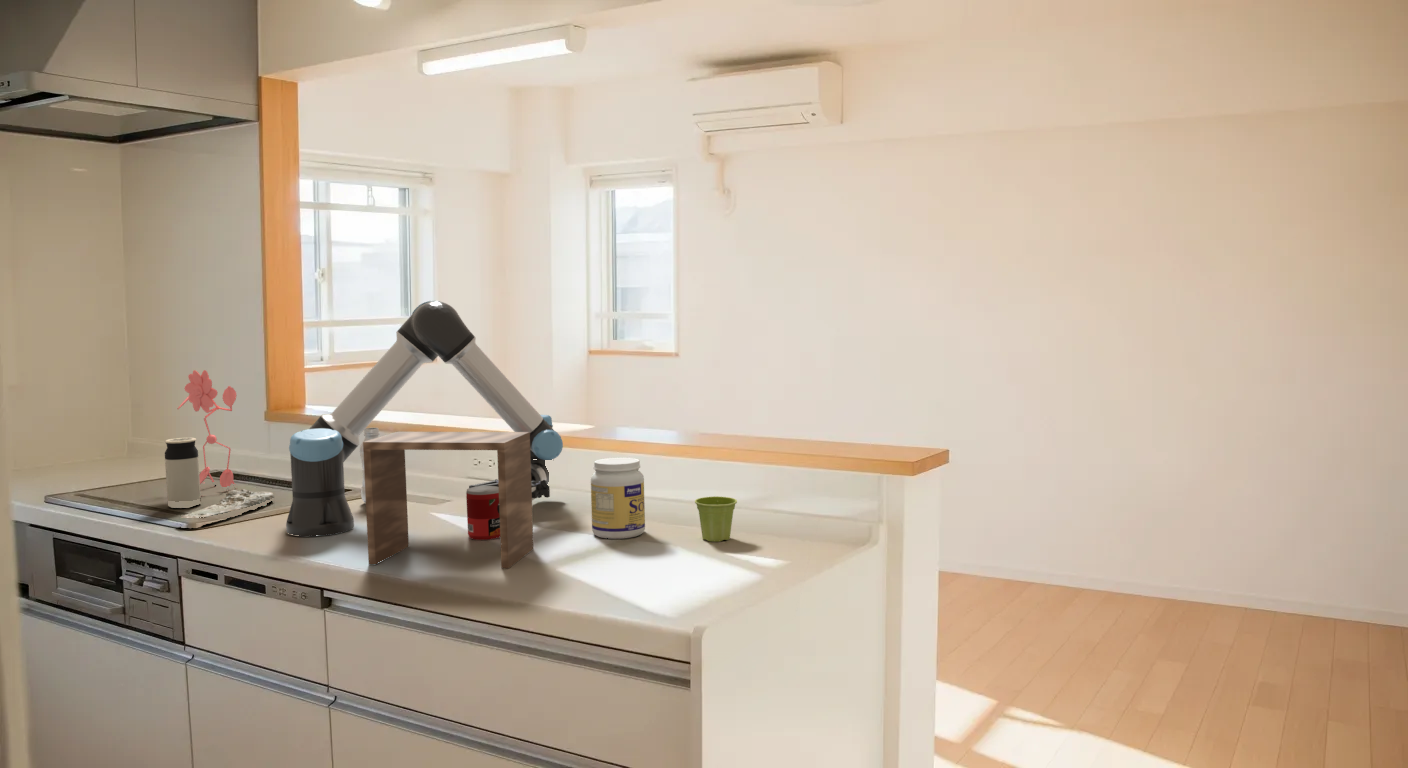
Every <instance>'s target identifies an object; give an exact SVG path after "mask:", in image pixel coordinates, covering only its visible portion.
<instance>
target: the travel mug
mask: <svg viewBox="0 0 1408 768" xmlns="http://www.w3.org/2000/svg"><path fill="white" fill-rule="evenodd" d="M196 441H197V438H195V437H177V438H176V437H175V438H169V439H166V440H165V441H164V442H165V444H166V447H167V448H166V450H165V451H164V463H165V464H164V466H165V480H166V496H167V502H168V501H175V502H179V501H193V500H197V499H200V498H201V496H202V495H201V494H202V493H201V484H200V477H199V474H200V463H199V450H198V448H197V446H195V445H196ZM201 499H202V498H201Z"/></svg>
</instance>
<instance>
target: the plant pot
mask: <svg viewBox="0 0 1408 768" xmlns="http://www.w3.org/2000/svg"><path fill="white" fill-rule="evenodd" d="M694 503H695V504H696V509H697V511H698V515H699V516H698V517H699V522H700V530H701V537H702V539H703V540H706V541H707V542H711V543H712V542H715V543H716V542H717V543H718V542H723V541H728V540H730V539H731V535H732V534H731V532H732V525H733V515H734V510H735V507H736V504H737V503H738V500H737V499H736V498H733V497H728V496H716V495H715V496H704V497H700V498H696V499H695V500H694Z"/></svg>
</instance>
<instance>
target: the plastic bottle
mask: <svg viewBox="0 0 1408 768" xmlns="http://www.w3.org/2000/svg"><path fill="white" fill-rule="evenodd" d="M363 433H364V434H363V436H364V439H363V440H362V442H361V443H360V444H359V445H360V446H359V454H360V459H361V467H362V482H361V485H362V486H361V490H360V496H361V500H362V501H363V503H364V504H366V495H365V473H364V452H363V442H365V441H368V440H372V439H375V438H378V437H379V436H380V429H379V427H366V428H365V429H364V430H363Z"/></svg>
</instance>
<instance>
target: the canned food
mask: <svg viewBox="0 0 1408 768" xmlns="http://www.w3.org/2000/svg"><path fill="white" fill-rule="evenodd" d="M465 491H466V492H465V494H466V496H465V497H466V515H467V516H466V519H467V520H466V521H467V535H468V538H469V539H471V540H475V541H488V540H495V539H496V540H497V539H499V538H500V513H499V487H497V486H477V487H472V488H469V487H468V488H467V489H466V490H465Z"/></svg>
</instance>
